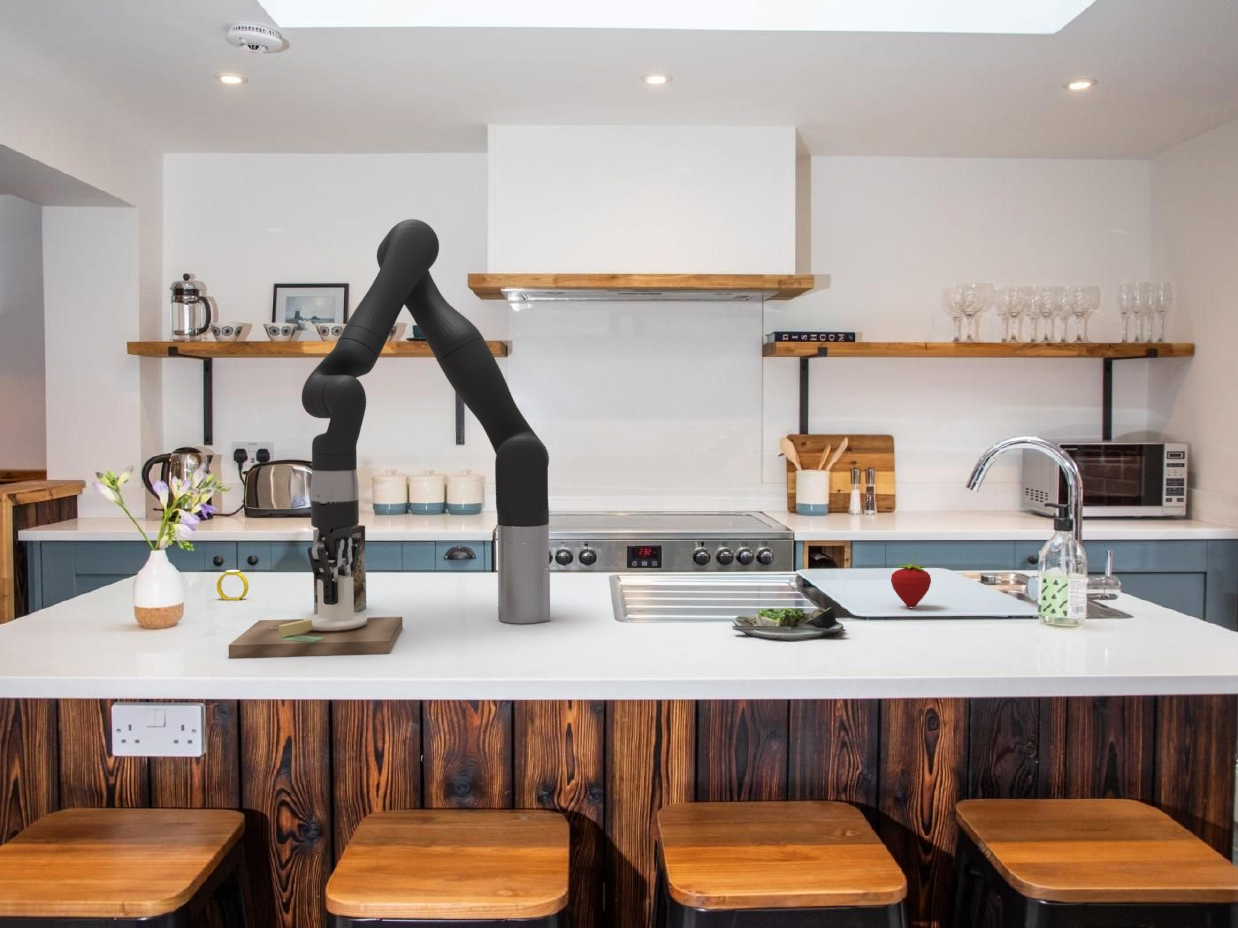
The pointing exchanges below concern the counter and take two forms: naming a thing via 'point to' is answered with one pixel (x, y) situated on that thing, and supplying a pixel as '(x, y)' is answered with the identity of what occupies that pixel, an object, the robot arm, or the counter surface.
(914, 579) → the strawberry
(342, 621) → the dial knob
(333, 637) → the dial board
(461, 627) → the counter surface
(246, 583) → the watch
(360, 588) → the coffee box
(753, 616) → the salad plate
